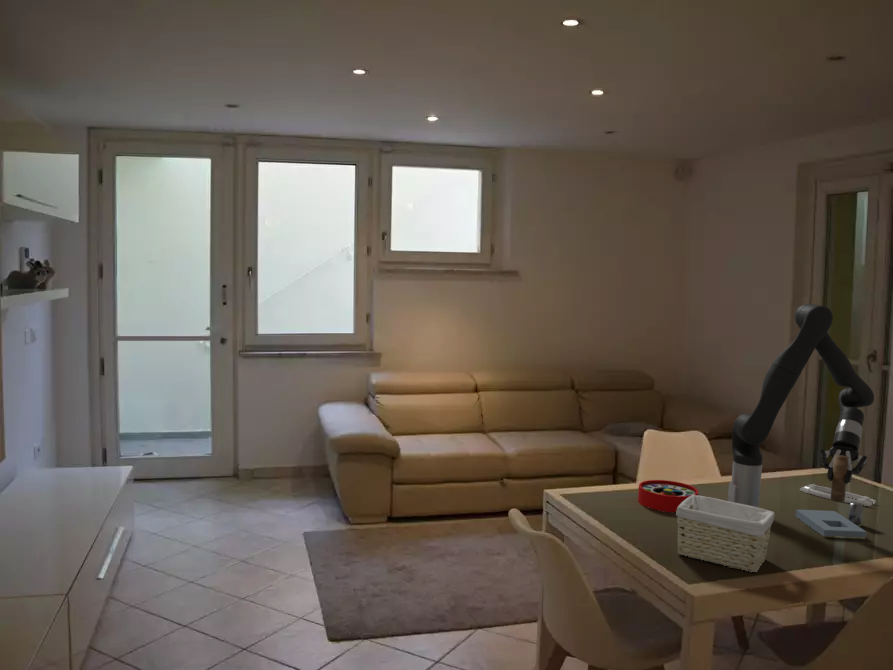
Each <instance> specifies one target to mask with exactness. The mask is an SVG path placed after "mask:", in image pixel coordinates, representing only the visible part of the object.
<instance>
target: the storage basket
mask: <svg viewBox="0 0 893 670" xmlns="http://www.w3.org/2000/svg"><path fill="white" fill-rule="evenodd" d="M675 516H677V520H676V521H677V553H678V555H681V556H683V555H684V557H687V556H688V558H692V559H695V560H696V559H697V560H699V559H700V561H703V560H704V561H703V562H709V563H712V564H717V565H718V564H721V565H724V566H723V567H725V566H729V567H728V568H732V569H736V570H740V569H741V570H740V571H743V570H745V571H744V572H748V571H749V572H748V573H752V572H756V573H757V572H758V570H759V569H760V568H761V567H762V565H763V564H762V563H764V562H765V560H766V558H767V552H768V545H769V540H770V538H771V536H770V533H771V529H772V524H773V522H774V519H775V512H774V511H773V510H772V511H771V510H768V509H765V508H761V507H759V508H758V507H753V506H749V505H744V504H739V503H734V502H729V501H728V500H723V499H719V498H714V497H709V496H703V495H698V496H696V495H691V496H690V497H688V498H687V499H685V500H684V501H683V502H682V503H681V504H680V505H679V506H678V507H677V511H676V513H675ZM721 565H720V566H721ZM760 566H761V567H760Z"/></svg>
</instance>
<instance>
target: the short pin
mask: <svg viewBox="0 0 893 670" xmlns="http://www.w3.org/2000/svg"><path fill="white" fill-rule="evenodd" d="M848 505H849V506H848V517H847V519H848V520H849V521H851V522H852V523H854V524H855V525H860V524H863V512H864V506H863V504H862V503H858V502H850V504H848Z"/></svg>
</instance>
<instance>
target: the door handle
mask: <svg viewBox="0 0 893 670" xmlns="http://www.w3.org/2000/svg"><path fill="white" fill-rule="evenodd" d="M799 491H800V492H802V493H805V494H807V493H808V495H813V496H816V497H818V496H819V498H823V499H827V500H830V501H832V500H831V487H825V486H822V485H821V486H820V485H817V484H813V483H811V484H807V485H805V486H802V487H800V488H799ZM848 497H849V498H848ZM852 498H853V499H852ZM855 499H857V500H855ZM843 502H845V503H844V504H848V503H850V502H858V503H862V504H863V505H864V506H863V507H865V506H868V507H871V506H872V505H874V504H875V503H877V501H876V500H875V499H873V498H870V496H866V495H864V496H862V495H861V494H856V493H853V492H848V491H845V501H843ZM843 502H842V503H843ZM872 503H873V504H872Z"/></svg>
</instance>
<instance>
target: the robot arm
mask: <svg viewBox="0 0 893 670" xmlns="http://www.w3.org/2000/svg"><path fill="white" fill-rule="evenodd" d="M794 320H795V324H796V325H797V326H798V328H799V329H800V330H799V332H798V333H797V336H796V337H795V339H794V340H793V341H792V342H791V343H790V344H789V345H788V346H787V347H786V348H785V349H784V350H782V351H781V352H780V353H779V355H777V356H776V358H775V359H774V360H773V362H772V363H771V365H770V367H769V369H768V370H767V372H766V374H765V376H764V379H763V382H762V388H761V393H760V396H759V397H760V398H759V400H758V403H757V405H756V407H755V408H754V410H753V411H752V413H750V414H749V413H743V414H740V415H739V416H738V417H736V419H735V420H734V422H733V425H732V438H731V452H732V456H733V458H732V468H731V470H732V472H731V481H729V483H728V494H727V501H729V502H734V503H739V504H744V505H749V506H753V507H758V508H760V496H761V495H760V494H761V484H762V473H763V472H762V471H763V454H762V452H761V449H760V445H761V444H763V442H765V441H766V439H767V438H768V436H769V435H770V432H771V430H772V427H773V425H774V422H775V421H776V419H777V416H778V414H779V413H780V410H781V408H782V407H783V405H784V403H785V402H786V400H787V399H788V396H789V395H790V393H791V391H792V389H793V388H794V386H795V385H796V383H797V382H798V379H799V378H800V376H801V373H802V372H803V370H804V369H805V366H806V365H807V363H808V362H809V360H810V358H811V356H812V355H813V353H814V351H815V350H816V351H817V353H818V355H819V356H820V357H821V360H822V361H823V363H824V365H825V366H826V368H827V370H828V372H829V374H830V375H831V378H832V379H833V381H834V383H835V384H836V385H837V386H840V387H845V388H843V389H841V390H840V392H839V393H838V404H839V412H840V414H839V421H838V422H837V426H836V428H835V433H834V438H833V442H832V446H831V448H829V450H825V449H824V448H823V449H822V448H821V449H820V456H821V460H822V466H823V469H826V470H827V474H826V476H827V477H826V478H827V480H828V481H829V482H832V476H833V463H834V455H843V456H847V457H848V467H847V472H846V477H845V484H846V485H848V484H849V483H851V481H852V477H853V474H854V475H855V474H856V475H859V474H860V473H861V472H862V470H863V469H864V468H865V466H866V464H867V463H868V457H867V456H866V455H860V454H859V449H860V444H861V440H862V432H863V425H864V420H865V414H864V412H863V411H862V410H861V409H860V408H865V407H869V406H871V405H873V403H874V401H875V395H874V392H873V391H874V390H872V388H871V387H870V385H869V384H867V382H865V380H863V379H862V378H861V376H860V375H859V374H858V373H856V371H855V369H854V366H853V365H852V363H851V361H850V360H849V358H848V357H847V355H846V354H845V353H844V352H843V350H842V349H841V348H840V347H839V346H838V345H837V344H836V342H835V341H834V340H833V338H832V337H831V336H830V334H829V332H828V331H829V330H830V328H831V327H832V324H833V320H834V315H833V312H832V309H830V308H829V307H828V306H824V305H819V304H814V303H806V304H803V305H801V306H799V307H798V308H797V309H796V311H795V313H794ZM846 387H847V388H846ZM829 455H830V456H831V458H832V459H831V461H830V463H828V460H827V458H828V457H829ZM857 460H858V462H857V464H856V465H855V466H854V467H853V464H852V463H854V462H855V461H857Z"/></svg>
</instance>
